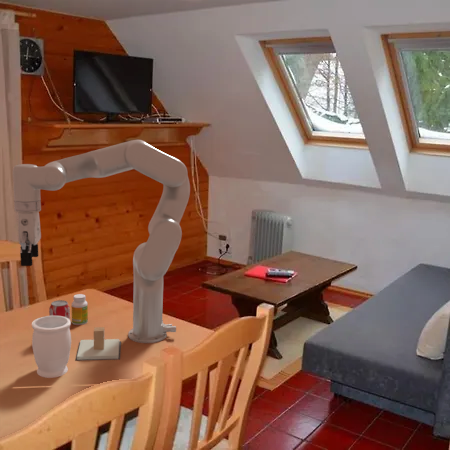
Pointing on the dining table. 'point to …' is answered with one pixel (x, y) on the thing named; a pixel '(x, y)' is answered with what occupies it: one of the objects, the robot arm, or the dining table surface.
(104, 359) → the mat
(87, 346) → the lid
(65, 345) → the jar
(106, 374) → the dining table surface
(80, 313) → the supplement bottle
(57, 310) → the beverage can
